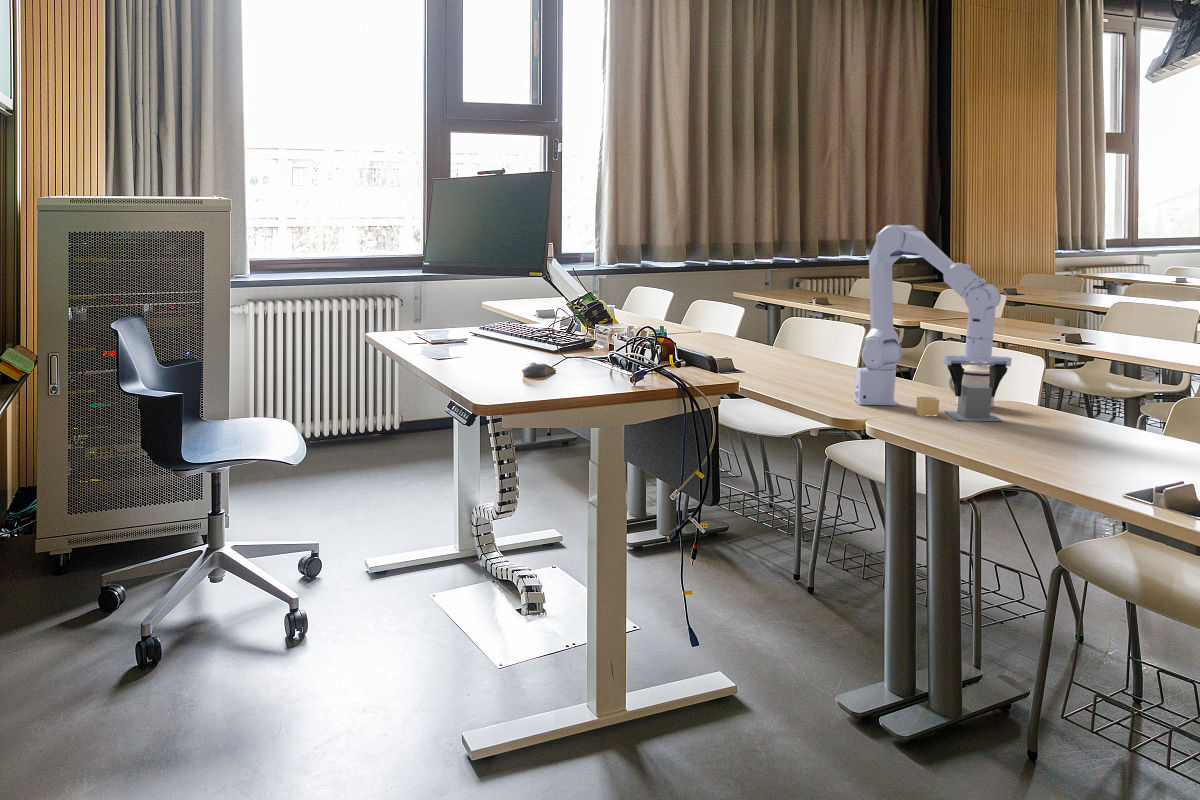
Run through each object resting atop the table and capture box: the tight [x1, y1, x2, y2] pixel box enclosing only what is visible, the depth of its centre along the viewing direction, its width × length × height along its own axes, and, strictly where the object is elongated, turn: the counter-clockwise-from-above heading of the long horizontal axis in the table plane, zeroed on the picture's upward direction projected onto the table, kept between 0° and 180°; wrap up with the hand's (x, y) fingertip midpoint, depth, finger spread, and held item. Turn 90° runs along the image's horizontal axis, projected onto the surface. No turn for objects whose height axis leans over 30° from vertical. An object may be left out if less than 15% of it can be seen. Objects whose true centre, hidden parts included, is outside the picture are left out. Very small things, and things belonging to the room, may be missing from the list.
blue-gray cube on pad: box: [957, 384, 992, 418], centre depth 219 cm, size 6×6×7 cm
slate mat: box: [944, 410, 1004, 423], centre depth 219 cm, size 10×10×1 cm
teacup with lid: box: [948, 362, 995, 408], centre depth 234 cm, size 12×9×12 cm
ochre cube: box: [915, 396, 940, 417], centre depth 222 cm, size 4×4×4 cm
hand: (974, 396), depth 219 cm, fingers open, 7 cm apart
